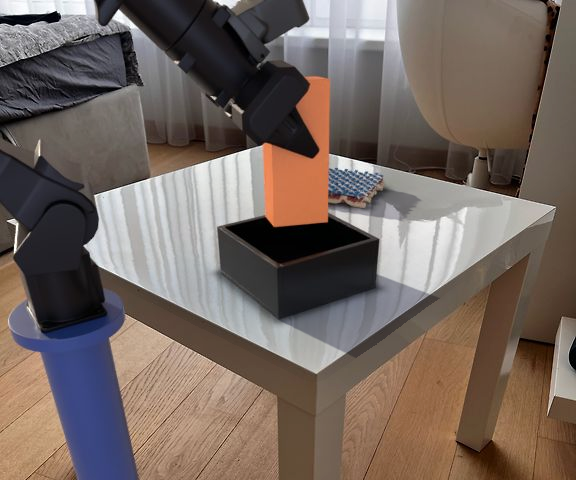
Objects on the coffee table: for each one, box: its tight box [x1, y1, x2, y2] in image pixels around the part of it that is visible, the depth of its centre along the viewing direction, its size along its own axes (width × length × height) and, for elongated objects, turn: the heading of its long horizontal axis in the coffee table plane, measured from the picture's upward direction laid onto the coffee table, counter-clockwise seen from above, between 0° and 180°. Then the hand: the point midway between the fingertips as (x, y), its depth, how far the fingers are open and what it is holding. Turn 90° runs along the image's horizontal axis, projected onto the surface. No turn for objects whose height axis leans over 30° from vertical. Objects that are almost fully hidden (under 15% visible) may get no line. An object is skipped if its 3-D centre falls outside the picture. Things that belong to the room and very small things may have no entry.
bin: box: [216, 212, 380, 320], centre depth 65 cm, size 12×12×6 cm
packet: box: [262, 75, 331, 227], centre depth 60 cm, size 6×4×13 cm
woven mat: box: [328, 167, 386, 209], centre depth 89 cm, size 10×11×2 cm
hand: (308, 148), depth 60 cm, fingers closed on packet, 4 cm apart
